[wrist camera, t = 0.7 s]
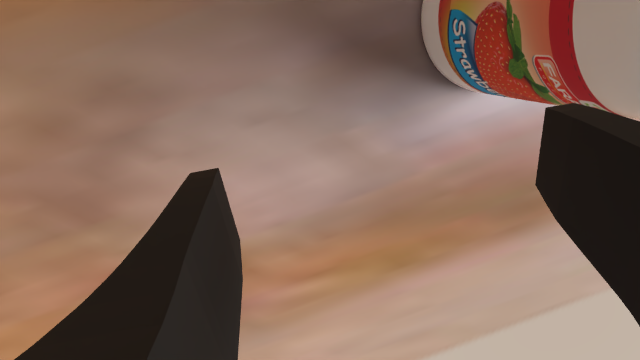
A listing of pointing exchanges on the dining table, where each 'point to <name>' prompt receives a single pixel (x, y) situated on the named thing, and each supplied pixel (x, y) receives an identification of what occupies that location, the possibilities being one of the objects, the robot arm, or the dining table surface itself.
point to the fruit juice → (540, 49)
